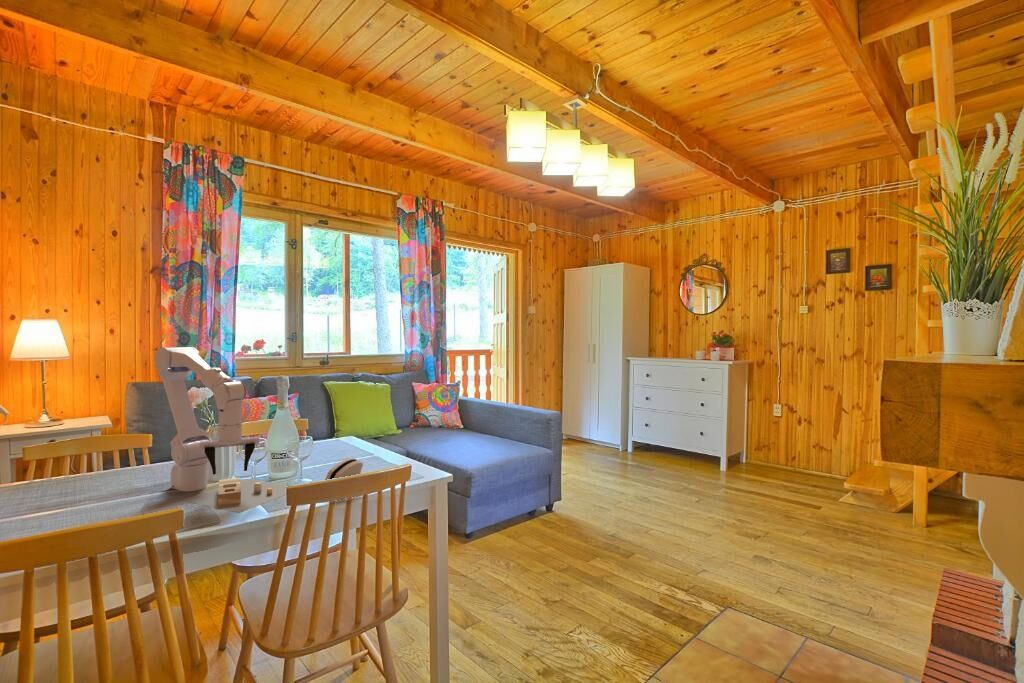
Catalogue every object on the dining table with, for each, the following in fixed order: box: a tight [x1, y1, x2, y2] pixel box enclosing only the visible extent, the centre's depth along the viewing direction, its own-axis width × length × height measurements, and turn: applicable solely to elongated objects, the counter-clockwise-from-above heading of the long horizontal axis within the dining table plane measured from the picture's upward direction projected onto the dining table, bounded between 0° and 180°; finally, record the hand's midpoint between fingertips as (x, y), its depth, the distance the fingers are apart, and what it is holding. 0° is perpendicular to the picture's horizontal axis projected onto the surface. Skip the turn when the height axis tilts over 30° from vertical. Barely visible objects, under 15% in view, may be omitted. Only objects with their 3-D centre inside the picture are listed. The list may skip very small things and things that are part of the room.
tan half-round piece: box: [324, 457, 364, 481], centre depth 156 cm, size 17×5×10 cm, turn 168°
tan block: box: [218, 477, 241, 505], centre depth 141 cm, size 14×5×3 cm, turn 29°
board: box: [179, 478, 288, 514], centre depth 143 cm, size 22×22×4 cm
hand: (230, 471), depth 141 cm, fingers open, 7 cm apart
